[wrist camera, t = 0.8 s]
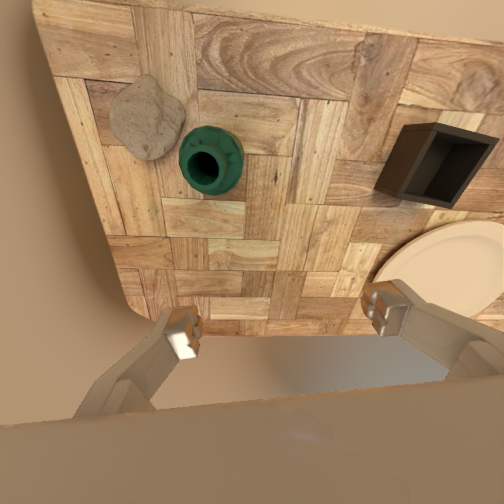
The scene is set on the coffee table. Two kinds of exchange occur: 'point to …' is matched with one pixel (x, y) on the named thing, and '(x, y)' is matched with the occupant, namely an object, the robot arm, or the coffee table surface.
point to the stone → (146, 119)
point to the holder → (434, 163)
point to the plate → (453, 265)
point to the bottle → (211, 160)
